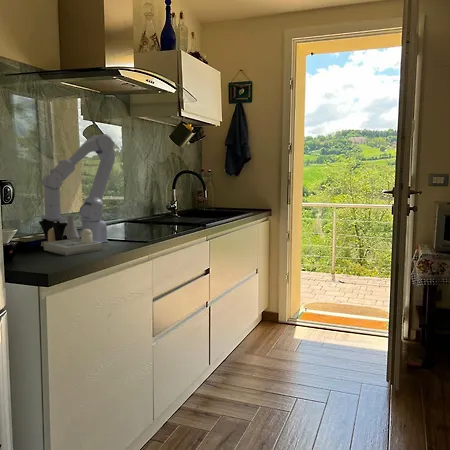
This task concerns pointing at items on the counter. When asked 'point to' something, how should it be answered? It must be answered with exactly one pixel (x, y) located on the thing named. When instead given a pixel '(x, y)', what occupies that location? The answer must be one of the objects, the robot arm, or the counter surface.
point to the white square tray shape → (75, 245)
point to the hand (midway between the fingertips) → (53, 239)
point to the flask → (71, 228)
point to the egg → (51, 235)
